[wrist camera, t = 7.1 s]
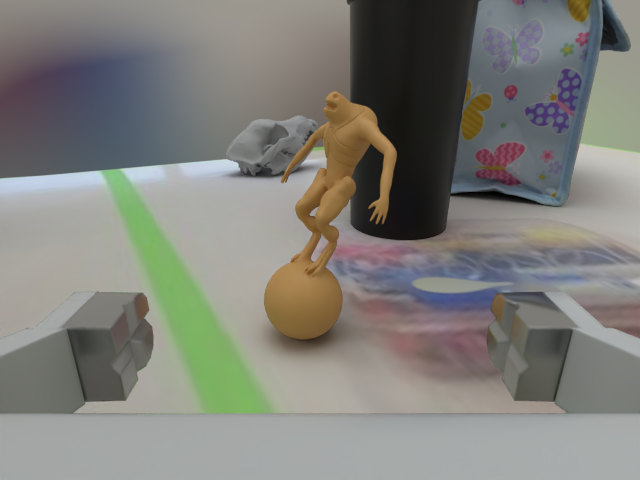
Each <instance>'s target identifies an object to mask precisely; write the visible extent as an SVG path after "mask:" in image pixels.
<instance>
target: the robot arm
mask: <svg viewBox="0 0 640 480" xmlns="http://www.w3.org/2000/svg"><path fill="white" fill-rule="evenodd" d="M148 311H149V306H148V301H147V297H146V296H145V295H144V294H143V293H128V292H98V291H97V292H75V293H73V294H72V295H71V296H70V297H69V298H68V299H67V300H65V301H64V302H63V303H62V304H61V305H60V306H59V307H58V308H56V309H55V310H54V311H53V312H52V313H51V314H50V315H49V316H48V317H46V318H45V319H44V320H43V321H42V322H41V323H40V324H39V325H37V326H36V327H35V328H26V329H24V330H21V331H19V332H16V333H14V334H11V335H9V336H6V337H3V338H1V339H0V480H640V339H639V338H636V337H634V336H631V335H629V334H626V333H624V332H621V331H619V330H616V329H614V328H605V327H604V326H603V325H601V324H600V323H599V322H598V321H597V320H596V319H595V318H594V317H593V316H591V315H590V314H589V313H588V312H587V311H586V310H585V309H584V308H583V307H581V306H580V305H579V304H578V303H577V302H576V301H575V300H574V299H572V298H571V297H570V296H569V295H568V294H567V293H564V292H561V291H559V292H514V293H497V294H495V296H494V298H493V300H492V306H491V311H492V313H493V314H494V316H495V317H496V319H495V320H494V321H493V322H492V323H491V324H490V325H489V326H488V330H487V338H486V341H487V351H488V354H489V357H490V360H491V362H492V363H493V365H494V367H496V368H498V369H499V370H501V371H502V372H503V376H502V381H503V382H504V384H505V386H506V387H507V389H508V391H509V392H510V394H511V396H512V397H513V399H514V401H545V402H555V404H556V405H557V406H559V407H560V408H561V409H563V410H564V411H565V412H567V413H73V412H75V411H76V410H77V409H79V408H80V407H82V406H83V405H84V404H85V402H95V401H126V399H127V397H128V396H129V394H130V392H131V391H132V389H133V387H134V386H135V384H136V382H137V381H138V376H137V372H138V371H139V370H141V369H142V368H144V367H146V365H147V363H148V362H149V360H150V358H151V354H152V350H153V330H152V326H151V325H150V324H149V323H148V322H147V321H146V320H145V319H144V317H145V316H146V314H147V313H148Z"/></svg>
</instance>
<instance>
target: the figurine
mask: <svg viewBox="0 0 640 480" xmlns="http://www.w3.org/2000/svg"><path fill="white" fill-rule="evenodd" d="M325 101H326V103H327V107H325V108H324V109H323V112H324V114H325V116H326V117H327V118H328V119H329V122H328V123H327V124H325V125H323V126H321V127H320V128H319V129H317V130H316V131H315V132H314V133H313V134H312V135H311V136H310V138H309V139H308V141H307V143H306V144H305V145H304V146H303V147H302V148H301V149H300V150H299V152H298V153H297V154H296V155H295V156H294V158H293V160H292V161H291V163H290V164H289V166H288V167H287V169H286V171H285V173H284V175H283V177H282V180H281V183H282V184H283V183H284V181H285V183H286V181H287V179H288V176H289V174H290V173H291V171H292V169H293V168H294V167H295V166H296V165H297V164H298V163H299V162H300V161H302V160H303V158H304V157H305V156H306V155H307V154H308V153H309V152H310V150H311V149H312V148H313V147H314V146H315V144H316V142H317V141H318V140H320V139H323V144H324V148H325V155H326V158H327V170H326V169H325V168H321V169H320V170H319V171H318V173H317V175H316V177H315V179H314V181H313V184H312V185H311V186H310V187H309V189H308V190H307V192H306V193H305V195H304V196H303V197H302V199H301V200H300V201H299V202H298V203H297V204H296V207H295V210H296V214H297V216H298V218H299V219H300V220H301V221H302V222H303V223H304V225H305V226H306V227H307V228H308V229H309V230H310V231H311V232H313V235H312V237H311V239H310V241H309V242H308V244H307V245H306V246H305V248H304V249H303V251H302V252H301V253H300V254H297V255H295V256H294V257H293V258H292V259H291V262H290V263H288V264H286V265H284V266H283V267H281V268H280V269H279V270H277V271H276V272H275V273H274V275H273V276H272V277H271V279H270V280H269V282H268V284H267V287H266V290H265V295H264V305H265V310H266V313H267V316H268V318H269V320H270V322H271V323H272V324H273V326H274V327H275V328H276V329H277V330H278V331H280V332H281V333H283V334H284V335H286V336H288V337H291V338H295V339H312V338H315V337H318V336H320V335H322V334H324V333H325V332H327V331H328V330H329V329H330V328H331V327H332V326H333V325H334V324H335V322H336V321H337V319H338V317H339V315H340V312H341V308H342V291H341V288H340V285H339V283H338V281H337V279H336V277H335V276H334V275H333V274H332V272H331V271H329V270H328V269H327V268H326V267H325V266H326V264H327V263H328V261H329V259H330V257H331V256H332V254H333V252H334V250H335V248H336V246H337V239H338V237H339V231H338V229H337V228H336V227H334V226H330V225H329V223H330V222H331V221H332V220H333V219H335V218H336V217H337V216H338V215H339V213H340V212H341V210H342V209H343V208H344V207H345V206H346V205H347V204H348V202H349V199H350V198H351V197H352V196H353V195H354V193H355V191H356V184H355V182H354V180H353V179H352V178H351V177H352V175H353V173H354V170H355V167H356V165H357V164H358V162H359V161H360V160H361V158H362V157H363V155H364V154H365V152H366V151H367V149H368V147H369V146H370V144H372V145H373V146H374V147H375V148H376V149H378V150H379V151H380V152H381V153H383V154H384V161H383V171H382V175H381V181H380V198H379V200H377V201H375V202H373V203H372V204H371V205H370V206H369V208H368V209H370V208H372V207H373V206H375V207H376V209H375V211H374V213H373V215H372V217H371V219H370V221H372V219H373V218H374V217H375V215H376V214H378V218H377V221H376V224H378V222H379V220H380V218H381V216H382V215H383V220H382V224H383V223H384V221H385V218H386V215H387V211H388V205H389V191H390V188H391V184H392V178H393V171H394V166H395V163H396V158H397V152H396V150H395V148H394V146H393V145H392V144H391V142H390V141H389V140H388V139H387V138H386V137H385V136H384V135H383V134H382V133H381V132H380V130H379V128H378V126H377V117H376V115H375V113H374V112H373V111H372V110H371V109H370V108H368V107H366V106H362V105H359V104H355V103H351V102H350V101H348V100H347V99H346V98H345V97H344V96H343V95H341V94H340V93H338V92H331V93H330V94H329V95H328V96H327V98H326V99H325ZM285 179H286V180H285ZM319 206H320V207H319ZM316 207H319V208H318V210H317V212H316V215H315V217H314V216H310V215H309V214H310V213H311V211H312V210H313V209H315V208H316ZM321 233H322V234H323V236H324V237H325V238H326V239H327V240H328V241H329V243H328V244H327V246H326V247H325V249H324V250H323V252H322V253H321V255H320V256H319V258H318V259H317V260H316V261H315V262H313V261H311V255H312V253H313V252H314V250H315V248H316V246H317V244H318V242H319V240H320V238H321Z"/></svg>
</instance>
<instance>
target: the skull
mask: <svg viewBox="0 0 640 480" xmlns="http://www.w3.org/2000/svg"><path fill="white" fill-rule="evenodd" d="M313 125H314V126H313ZM317 129H319V128H318V124H317V122H315V121H313V120H310V119H306V118H304V116H296V117H294V118H292V119H289V120H285V121H273V120H269V119H258V120H255V121H253V122H252V123H251V124H250V125H249V126H248V127H247V128H246V129H245V130H244V131H243V132H242V133H240V134H239V135H238V136H237V137H236V138H235V140H234V141H233V142H232V143H231V144H230V146H229V147H228V149H227V153H226V158H227V159H228V160H231V161H234V162H237V163H238V164H239V167H240V170H241V172H244V173H245V174H247V173H248V171H250V172H251V174H252V175H253V176H256V173H257V172H260V171H261V170H262V168H263V167H269V168H271V169H272V172H271V174H272V175H276V174H278V173H280V172H281V171H283V172H285V171H286V169H287V167H288V166H289V164H290V163H291V161H292V160H293V158H294V156H295V155H296V154H297V153H298V152H299V150H300V149H301V148H302V147H303V146H304V145H305V144H306V143H307V141H308V139H309V138H310V136H311V135H312V134H313V133H314V132H315V131H316V130H317ZM312 149H313V148H312ZM312 149H311V150H310V152H311V151H312ZM310 152H309V153H308V154H307V155H306V156H305V157H304V158H303V160H302V161H300V162H299V163H298V164H297V165H296V166H295V167H294V168H293V169H292V171H291V172H293V171H295V170H296V169H297V168H298V167H299V166H300V165H301V163H302V162H303V161H304V160H305V159H306V158H307V156H308V155H309V154H310ZM255 172H256V173H255Z"/></svg>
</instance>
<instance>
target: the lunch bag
mask: <svg viewBox="0 0 640 480" xmlns="http://www.w3.org/2000/svg"><path fill="white" fill-rule="evenodd" d="M630 48H631V44H630V39H629V37H628V34H627V33H626V31H625V29H624V27H623V25H622V23H621V21H620V19H619V17H618V15H617V14H616V12H615V10H614V8H613V6H612V4H611V1H610V0H481V1H480V2H479V3H478V10H477V17H476V24H475V31H474V37H473V44H472V51H471V58H470V65H469V72H468V73H469V74H468V83H467V90H466V97H465V99H464V100H465V103H464V107H463V108H464V110H463V117H462V119H461V120H462V124H461V130H460V133H459V134H460V137H459V144H458V151H457V157H456V160H455V167H454V174H453V181H452V188H451V193H458V192H488V191H497V192H500V193H502V194H507V195H513V196H518V197H522V198H527V199H530V200H533V201H536V202H538V203H541V204H544V205H551V206H561V205H563V204H564V203H565V201H566V200H567V198H568V196H569V190H570V184H571V178H572V174H573V169H574V164H575V160H576V156H577V152H578V148H579V144H580V140H581V135H582V130H583V126H584V121H585V116H586V112H587V107H588V103H589V98H590V93H591V89H592V84H593V80H594V76H595V71H596V66H597V63H598V57H599V51H600V50H613V51H620V52H625V51H629V50H630Z"/></svg>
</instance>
